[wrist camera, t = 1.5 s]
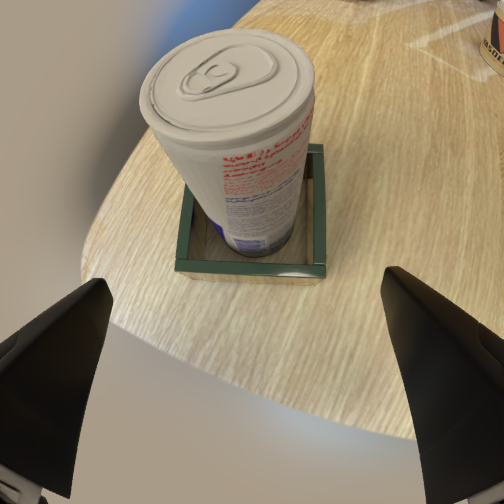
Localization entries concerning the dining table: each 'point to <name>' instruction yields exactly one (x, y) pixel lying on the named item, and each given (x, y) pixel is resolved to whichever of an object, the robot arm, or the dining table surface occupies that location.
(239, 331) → the dining table surface
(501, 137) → the dining table surface
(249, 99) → the beverage can
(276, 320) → the dining table surface
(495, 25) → the coffee cup
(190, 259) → the caddy
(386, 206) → the dining table surface
